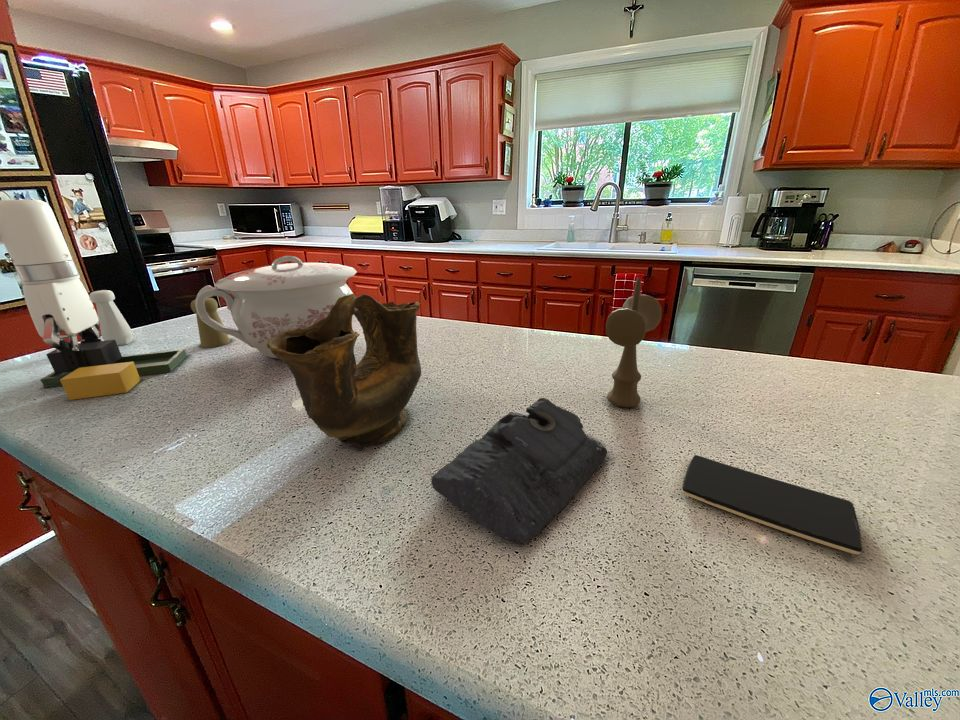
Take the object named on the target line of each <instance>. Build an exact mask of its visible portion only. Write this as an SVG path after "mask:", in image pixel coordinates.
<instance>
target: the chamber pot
mask: <svg viewBox="0 0 960 720" xmlns="http://www.w3.org/2000/svg"><path fill="white" fill-rule="evenodd" d="M284 262H288V263H284ZM289 262H290V263H289ZM357 273H358V272H357V270H356V269H355V268H354V267H352V266H347V265H343V264H339V263H328V262H303V261H302V259H300V258H298V257H297V256H293V255H283V256H280V257H278V258H275V259H274V260H273V262H272V263H271V265H265V266H260V267H255V268H251V269H245V270H242V271H239V272H234V273H232V274H230V275H227V276H225V277H223V278H220V279H218V280H217V281H216V282H215V284H214V287H213V286H212V285H205V286H204V287H202V288H201V289H200V290H199V291H198V293H197V294H196V297H195V300H196V301H195V306H196V311H197V314H198V315H199V317H200V319H201V320H202V321H203V322H205V323H206V324H208V325H209V326H210V327H212V328H213V329H215V330H217V331H220V332H223V333H226V334H227V335H228V336H232V337H234V338H236V339H238V340H240V341H241V342H243V343H244V344H247V346H249V347H251V348H252V349H253V348H254V349H256V350H257V351H258V352H260V354H262V355H263V356H266V357H269V358H272V359H279V358H278V357H276V356H275V355H274V354H273V353H272V352H271V350H270V348H268V347H267V343H268V341H267V340H268V339H269V338H273V337H275V338H277V337H276V336H278V334H280V333H282V332H285V331H289V330H295V329H298V328H307V327H309V326H311V325H313V324H315V323H317V322H318V321H320V320H321V319H323V318H326V317H327V316H328V315H329V313H330V310H331V308H332V307H333V306H334V305H335V303H336V301H337V300H338V299H339V298H340V297H343V296H347V295H350V294H354V293H353V291H352V290H351V288H350V287H349V286H348V284H347V280H348V279H351V278H353V277H354V276H355V275H356V274H357ZM213 297H219V298H223V299H224V301H225V304H226V308H227V310H229V311H230V313H231V317H232V320H233V323H234V324H235V326H236V328H234V327H229V326H226V325H224V324H223V325H221V324H220V323H218V322H217V321H215V320H213V319H212V318H211V317H210V316H209V314H208V313H207V311H206V308H205V299H206V298H213ZM354 320H355V315H354V316H352V324H353V323H354Z"/></svg>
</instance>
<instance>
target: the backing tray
mask: <svg viewBox="0 0 960 720" xmlns="http://www.w3.org/2000/svg"><path fill="white" fill-rule="evenodd" d="M187 357H188V354H187V351H186V349H185V348H183V349H182V348H181V349H174V350H165V351H164V350H163V351H156V352H155V351H154V352H147V353H145V352H144V353H138V354H129V355H122V358H121V359H119V360H118V361H116V362H115V363H114V364H116V363H124V362H134V364H135V367H136V369H137V372H138V374H139V377H141V376H148V375H157V374H164V373H165V374H166V373H171V372H173V370H174V369H175V368H177V366H179V364H180V363H182V362H183V361H184V360H185V359H186V358H187ZM72 372H73V371H72ZM70 373H71V372H64V373H55V372H54V371H53V372H51V373H49V374H47V375H46V376H43V377H42V378H40V382H41V385H42V386H43V388H53V387H61V386H63V385H62V383H61V381H60V379H62V378H63V377H65V376H67V375H68V374H70Z"/></svg>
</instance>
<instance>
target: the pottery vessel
mask: <svg viewBox="0 0 960 720" xmlns="http://www.w3.org/2000/svg"><path fill="white" fill-rule="evenodd" d="M420 305H421V303H420V302H418V301H414V302H403V303H400V304H396V303H395V302H394V301H390V302H387V303H386V302H379V301H378V300H376V299H375V298H374V297H372V296H371V295H369V294H367V293H362V294H361V295H358V296H356V295H355V293H353V294H350V295H347V296H343V297H340V298H339V299H338V300H337V301H336V303H335V305H334V306H333V307H332V308H331V310H330V313H329V315H328V316H327V317H326V318H323V319H321V320H320V321H318V322H317V323H315V324H313V325H311V326H309V327H307V328H298V329H295V330H289V331H285V332H282V333H280V334H278V336H276V337H277V338H275V337H273V338H269V339H268V340H267V341H268V343H267V347H268V348H270V350H271V352H272V353H273V354H274V355H275V356H276V357H278V358H277V359H279V360H281V362H283V364H284V365H286V366H287V368H288V369H289V370H290V372H291V374H292V375H293V378H294V381H295V385H296V387H297V390H298V392H299V396H300V398H301V401H302V407H303V408H304V410H305V412H306V415H307V416H308V419H311V420H312V422H314V424H315V425H316V426H317V427H318V429H319V430H320V431H321V432H322V433H323V434H325V435H326V436H327V437H329V438H336V439H337V440H338V442H341V443H342V444H345V445H349V444H351V445H352V446H355V445H356V446H359V447H367V446H371V445H374V444H375V445H376V444H380V443H383V442H384V441H387V440H389V439H390V438H392V437H393V436H395V435H396V434H398V433H399V432H400V431H401V430H402V428H404V427H405V425H406V424H407V423H408V413H407V411H406V406H407V405H408V404H409V402H410V400H411V398H412V396H413V394H414V392H415V390H416V387H417V385H418V383H419V381H420V378H421V375H422V365H421V362H420V357H419V351H418V333H417V332H418V331H417V319H418V316H417V315H418V311H419V309H420ZM352 316H354V318H356V320H357V322H358V323H359V325H360V327H361V329H362V334H363V336H364V341H365V345H366V347H365V353H364V355H363V357H362V358H360V361H359V362H358V363H357V360H356V355H355V351H354V350H355V348H354V347H355V345H356V343H357V340H358V337H359V336H360V333H358V332H357V331H356V330H354V328H353V323H352Z"/></svg>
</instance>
